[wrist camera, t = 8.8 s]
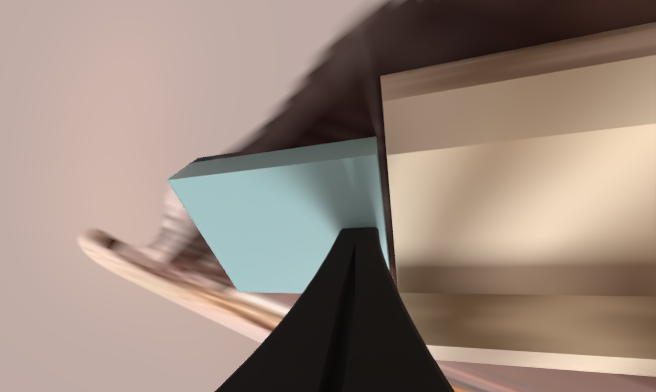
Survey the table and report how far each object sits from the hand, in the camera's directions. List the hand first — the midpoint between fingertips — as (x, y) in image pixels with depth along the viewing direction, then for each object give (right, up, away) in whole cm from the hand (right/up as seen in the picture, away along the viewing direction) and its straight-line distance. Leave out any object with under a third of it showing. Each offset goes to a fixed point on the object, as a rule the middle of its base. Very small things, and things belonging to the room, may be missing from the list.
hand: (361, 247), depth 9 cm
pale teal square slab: (-3, +1, +3) cm, 4 cm away
